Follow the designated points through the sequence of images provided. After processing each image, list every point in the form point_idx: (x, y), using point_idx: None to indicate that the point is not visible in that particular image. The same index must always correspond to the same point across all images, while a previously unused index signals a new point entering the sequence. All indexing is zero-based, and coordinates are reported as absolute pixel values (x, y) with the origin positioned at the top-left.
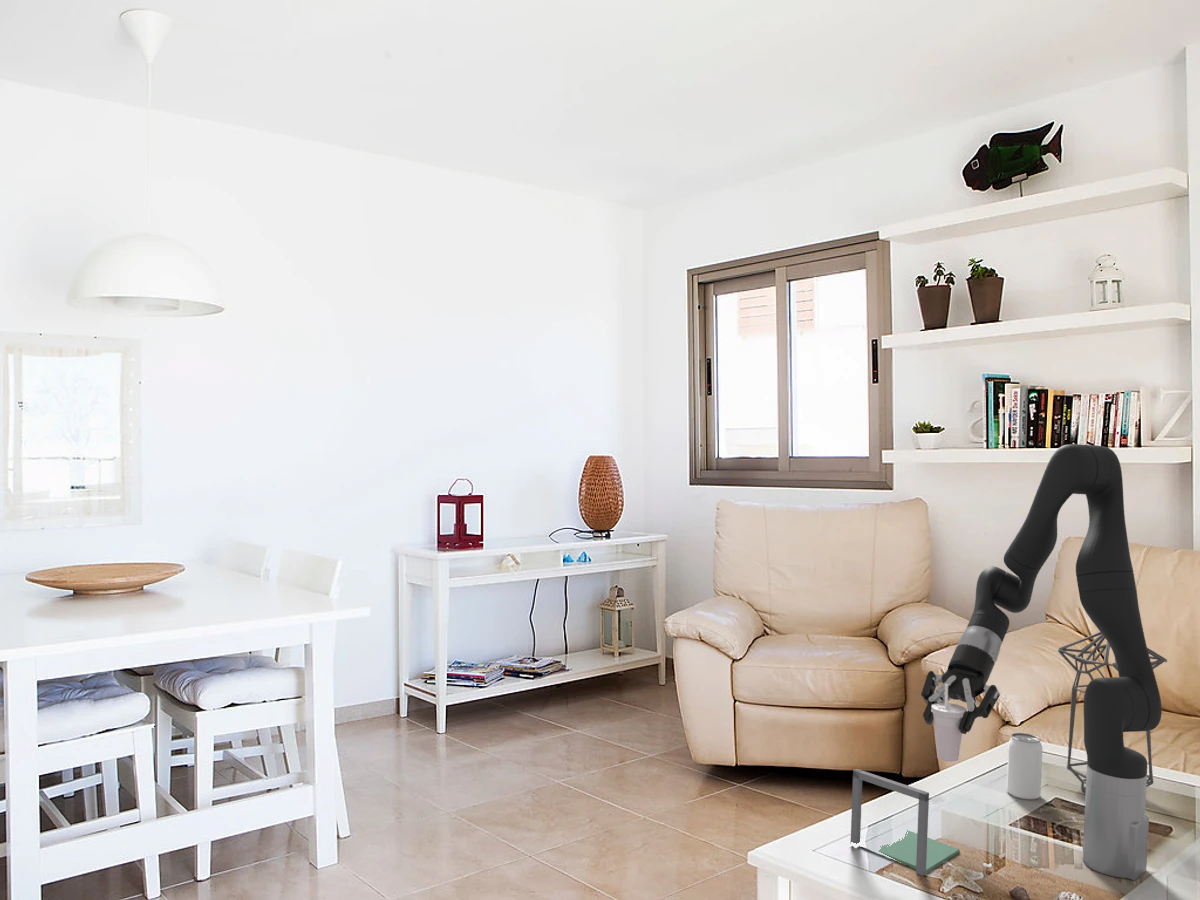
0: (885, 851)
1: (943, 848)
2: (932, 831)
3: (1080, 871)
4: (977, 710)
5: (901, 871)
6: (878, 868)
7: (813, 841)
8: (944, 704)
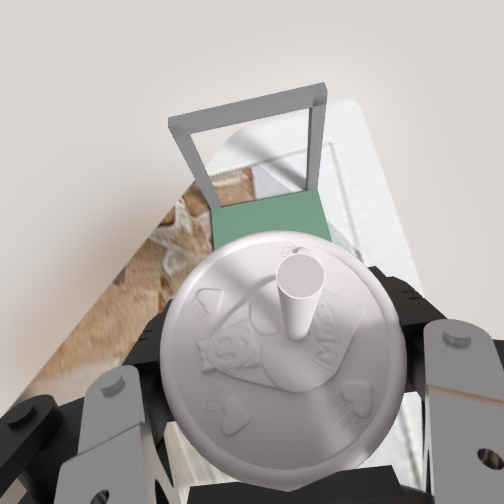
0: (273, 202)
1: None
2: None
3: None
4: (75, 413)
5: (233, 192)
6: (254, 176)
7: (351, 156)
8: (332, 358)
